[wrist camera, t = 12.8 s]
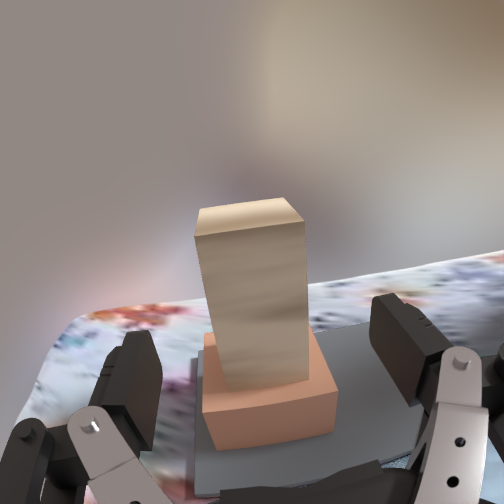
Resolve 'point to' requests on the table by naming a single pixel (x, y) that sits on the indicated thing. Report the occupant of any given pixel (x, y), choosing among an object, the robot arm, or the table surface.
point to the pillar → (256, 291)
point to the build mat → (326, 445)
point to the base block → (267, 404)
